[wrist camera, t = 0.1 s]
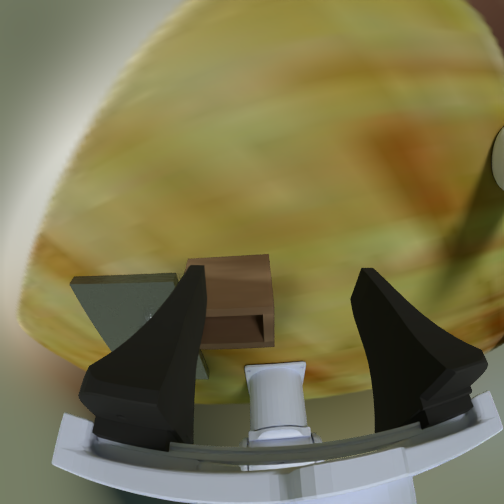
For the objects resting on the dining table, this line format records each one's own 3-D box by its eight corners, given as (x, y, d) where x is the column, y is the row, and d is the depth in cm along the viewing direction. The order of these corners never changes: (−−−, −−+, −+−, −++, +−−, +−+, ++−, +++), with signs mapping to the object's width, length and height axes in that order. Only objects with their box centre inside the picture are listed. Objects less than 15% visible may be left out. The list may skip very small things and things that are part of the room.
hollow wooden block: (269, 295, 27) (274, 346, 22) (198, 299, 27) (190, 349, 22) (268, 254, 24) (274, 306, 19) (188, 258, 24) (175, 310, 19)
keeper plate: (209, 371, 36) (206, 403, 32) (130, 368, 36) (123, 396, 32) (175, 272, 25) (164, 313, 21) (73, 276, 25) (54, 310, 21)
